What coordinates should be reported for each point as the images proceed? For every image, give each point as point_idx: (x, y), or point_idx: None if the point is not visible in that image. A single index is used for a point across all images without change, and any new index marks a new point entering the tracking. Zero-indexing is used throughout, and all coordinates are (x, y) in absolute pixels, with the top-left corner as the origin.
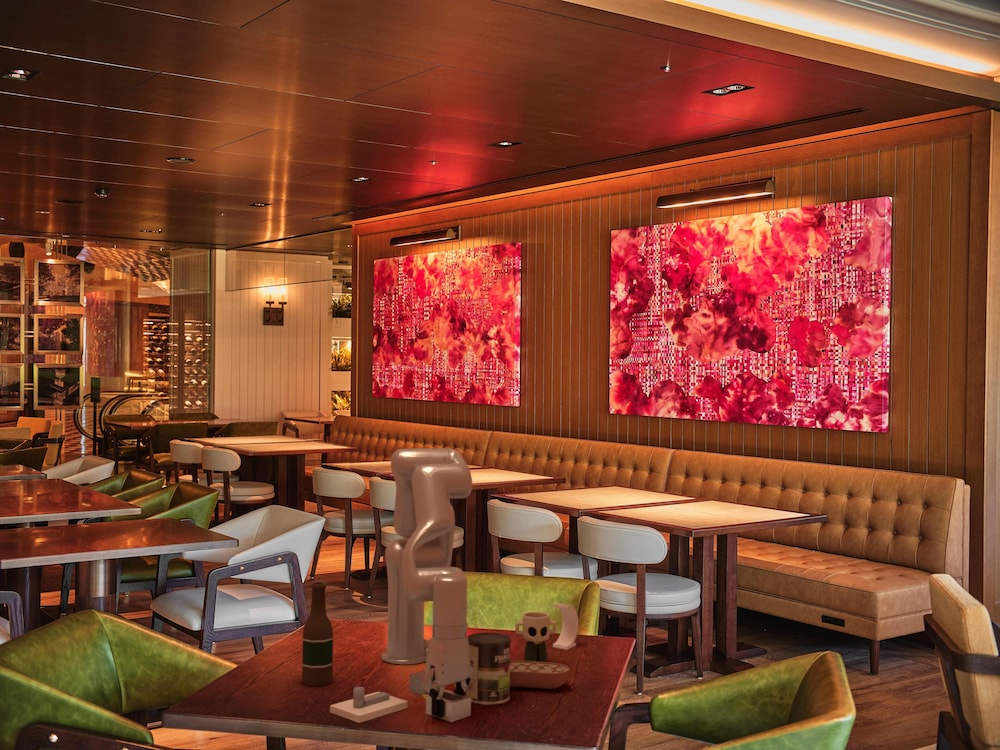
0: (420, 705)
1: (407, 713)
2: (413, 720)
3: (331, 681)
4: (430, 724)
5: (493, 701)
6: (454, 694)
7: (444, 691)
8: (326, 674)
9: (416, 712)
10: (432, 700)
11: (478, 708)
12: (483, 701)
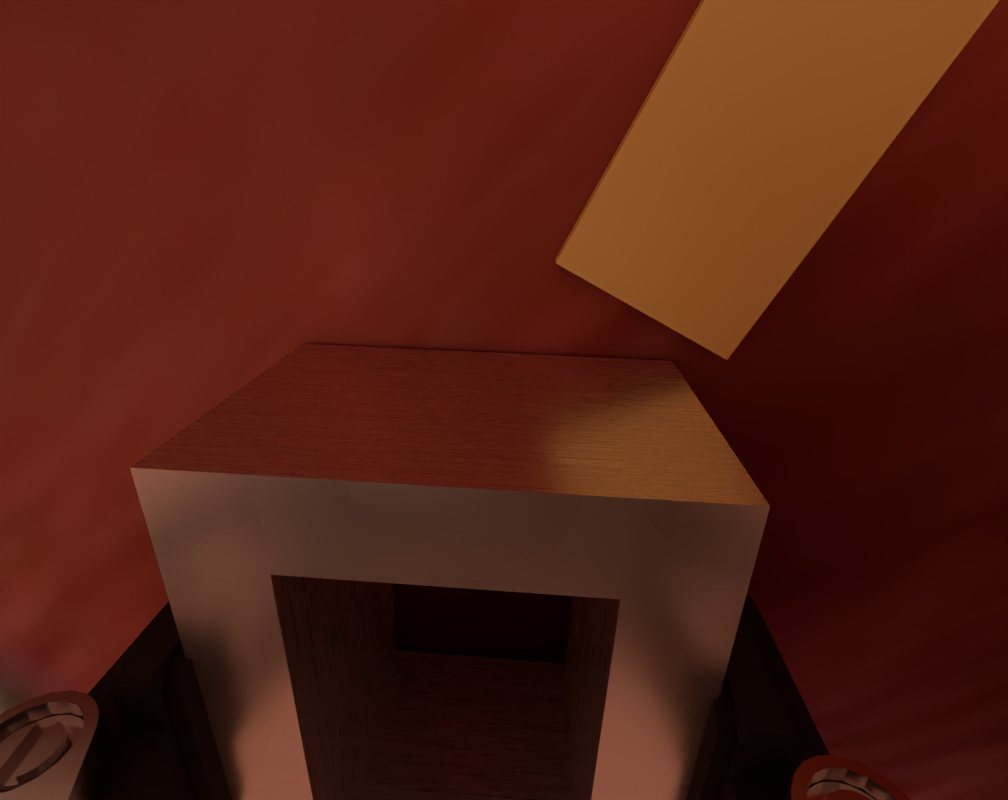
0: None
1: (110, 124)
2: (55, 390)
3: None
4: (155, 587)
5: None
6: (602, 777)
7: (625, 577)
8: None
9: (243, 196)
10: (100, 696)
11: (880, 640)
12: None
